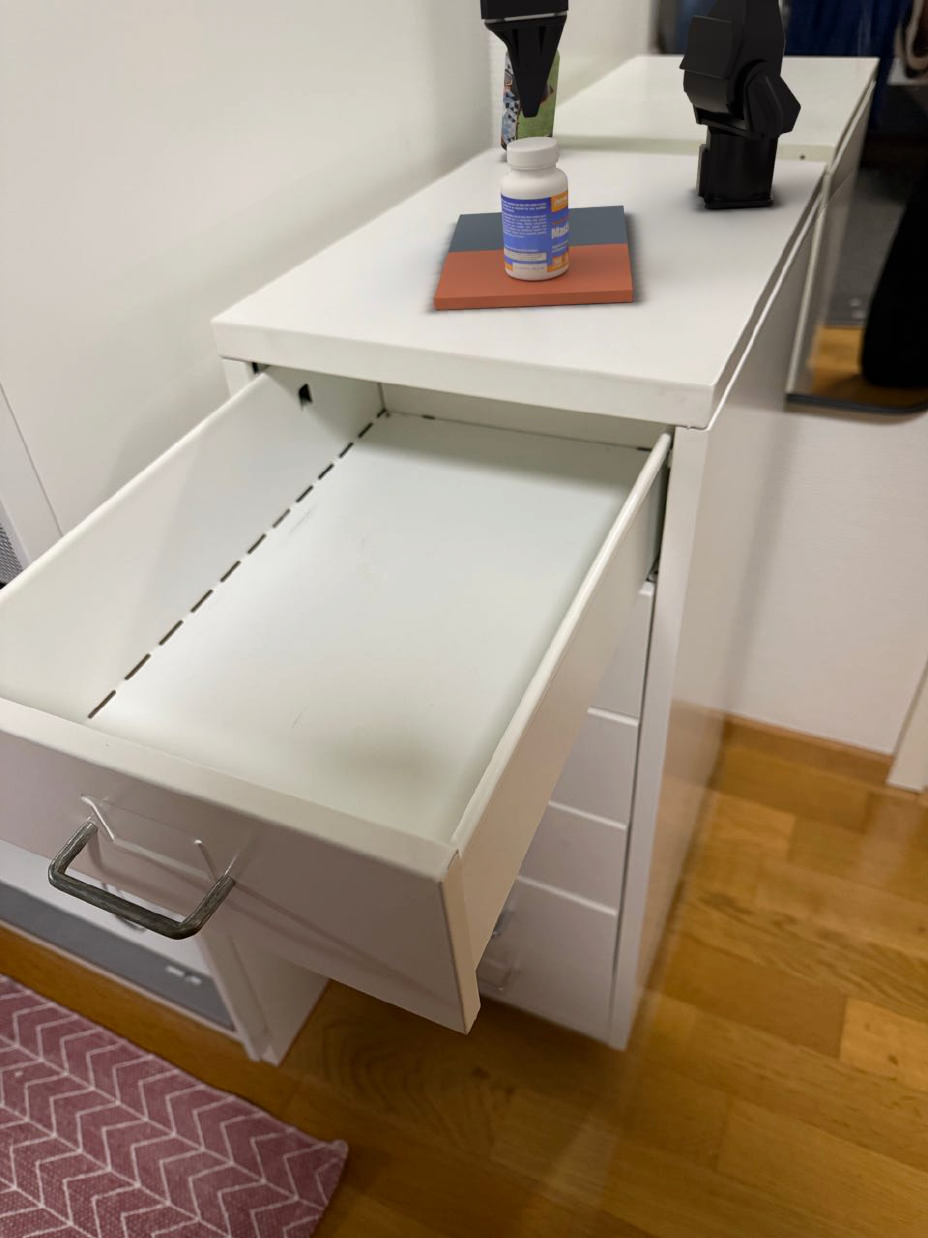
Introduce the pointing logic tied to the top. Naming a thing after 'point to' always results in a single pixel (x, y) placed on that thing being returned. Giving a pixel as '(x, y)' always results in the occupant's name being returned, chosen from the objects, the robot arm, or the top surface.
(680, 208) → the top surface
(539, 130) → the beverage can
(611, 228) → the board
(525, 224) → the pill bottle
